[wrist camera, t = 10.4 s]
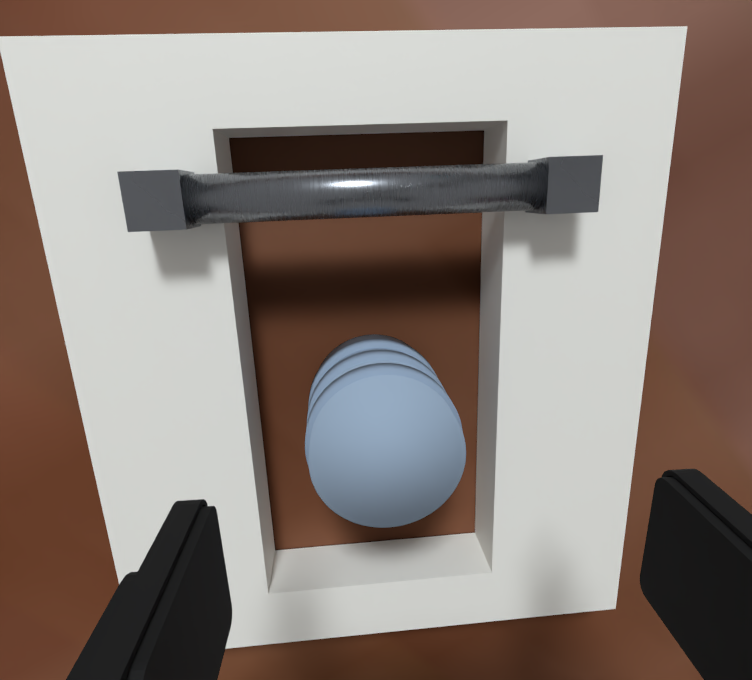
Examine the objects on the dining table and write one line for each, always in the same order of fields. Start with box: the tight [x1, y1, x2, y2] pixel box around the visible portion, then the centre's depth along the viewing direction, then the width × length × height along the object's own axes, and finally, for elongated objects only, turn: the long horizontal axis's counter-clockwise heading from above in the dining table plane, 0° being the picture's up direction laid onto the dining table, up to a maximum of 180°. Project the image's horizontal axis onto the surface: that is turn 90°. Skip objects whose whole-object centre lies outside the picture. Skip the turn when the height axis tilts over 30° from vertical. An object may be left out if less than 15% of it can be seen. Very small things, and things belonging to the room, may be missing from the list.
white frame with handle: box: [0, 26, 687, 649], centre depth 19 cm, size 20×22×2 cm
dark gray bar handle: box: [117, 155, 603, 232], centre depth 15 cm, size 14×2×2 cm, turn 92°
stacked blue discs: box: [305, 335, 466, 528], centre depth 18 cm, size 5×5×6 cm
